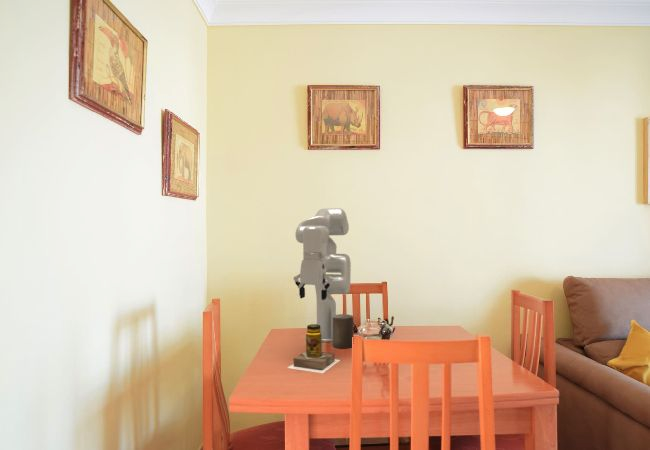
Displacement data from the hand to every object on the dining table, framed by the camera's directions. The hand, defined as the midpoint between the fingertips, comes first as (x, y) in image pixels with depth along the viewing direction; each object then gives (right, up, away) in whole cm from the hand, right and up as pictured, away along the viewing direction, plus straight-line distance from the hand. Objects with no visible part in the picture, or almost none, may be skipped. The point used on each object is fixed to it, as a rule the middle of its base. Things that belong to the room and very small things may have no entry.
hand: (313, 298), depth 166 cm
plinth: (+1, -24, -7) cm, 25 cm away
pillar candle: (+13, -26, +22) cm, 36 cm away
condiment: (0, -22, -6) cm, 22 cm away
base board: (+1, -25, -7) cm, 26 cm away
